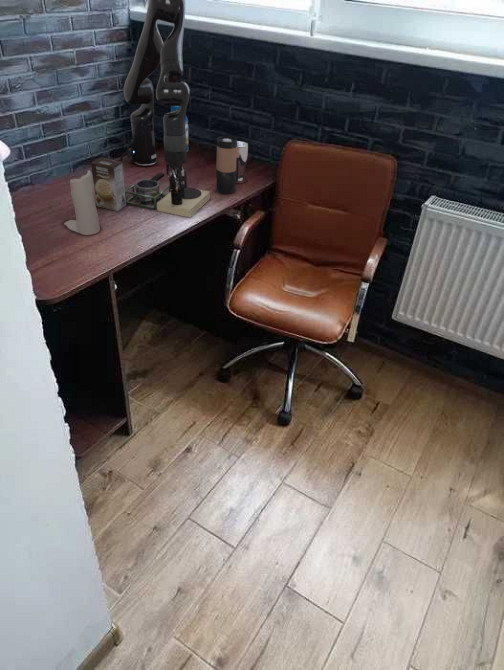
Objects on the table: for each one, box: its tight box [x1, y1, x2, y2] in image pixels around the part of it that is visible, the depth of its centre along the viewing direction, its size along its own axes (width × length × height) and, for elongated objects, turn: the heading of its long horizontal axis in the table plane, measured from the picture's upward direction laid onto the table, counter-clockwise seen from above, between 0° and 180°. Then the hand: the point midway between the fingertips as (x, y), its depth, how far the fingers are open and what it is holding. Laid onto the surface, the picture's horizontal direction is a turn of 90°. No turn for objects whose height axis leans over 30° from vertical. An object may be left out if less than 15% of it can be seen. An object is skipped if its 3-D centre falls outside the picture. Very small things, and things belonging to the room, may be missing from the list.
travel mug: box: [215, 135, 238, 195], centre depth 191 cm, size 8×8×20 cm
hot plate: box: [156, 186, 211, 218], centre depth 183 cm, size 19×13×3 cm
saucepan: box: [134, 172, 165, 206], centre depth 187 cm, size 8×16×7 cm, turn 161°
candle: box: [63, 169, 101, 236], centre depth 160 cm, size 7×14×20 cm, turn 60°
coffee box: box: [90, 156, 127, 212], centre depth 175 cm, size 9×6×16 cm
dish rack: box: [125, 183, 172, 211], centre depth 184 cm, size 13×13×5 cm
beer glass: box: [235, 140, 249, 184], centre depth 202 cm, size 7×7×15 cm
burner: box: [182, 186, 201, 199], centre depth 185 cm, size 10×10×1 cm
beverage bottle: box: [170, 106, 190, 152], centre depth 225 cm, size 8×8×20 cm
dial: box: [171, 189, 183, 205], centre depth 177 cm, size 4×4×5 cm
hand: (177, 193), depth 176 cm, fingers open, 8 cm apart
